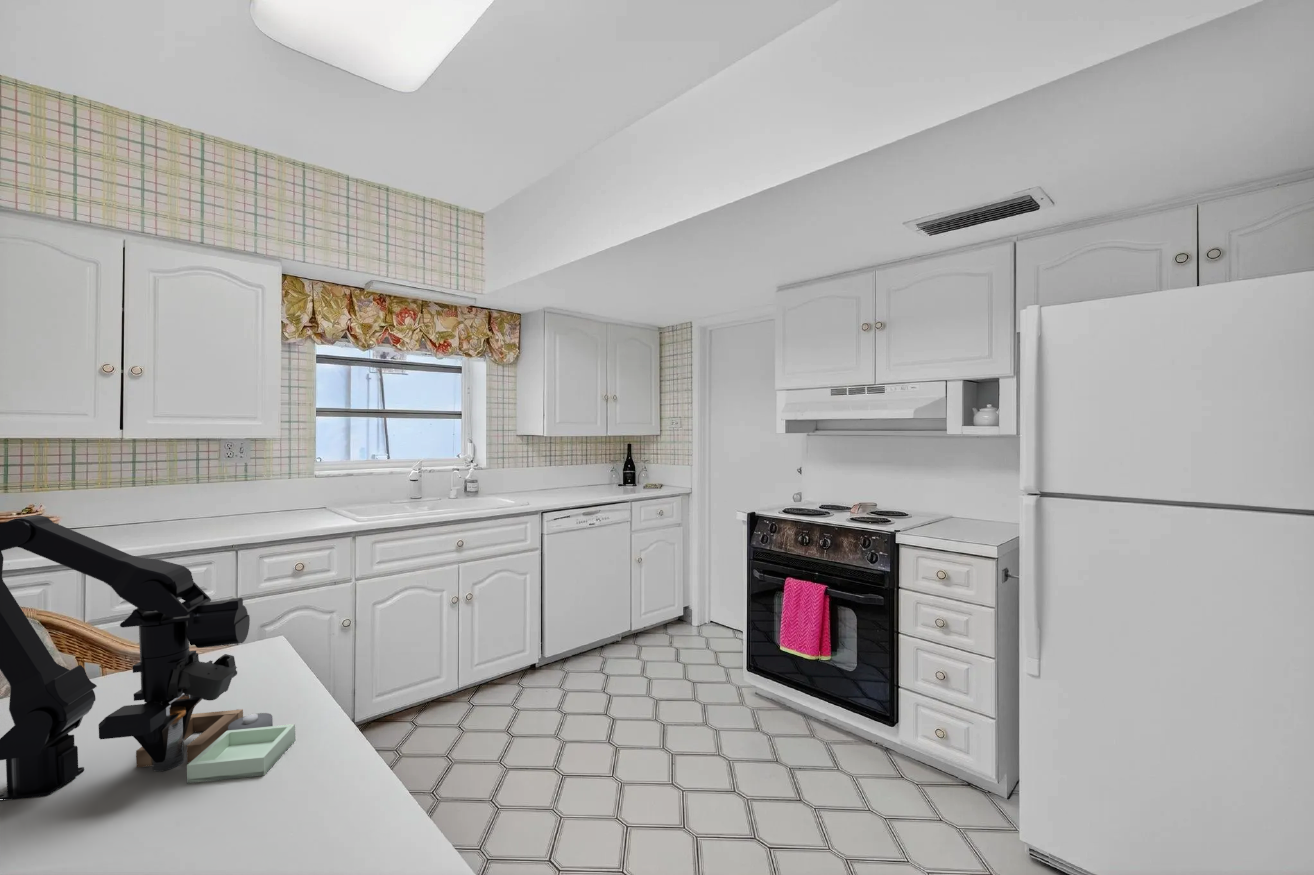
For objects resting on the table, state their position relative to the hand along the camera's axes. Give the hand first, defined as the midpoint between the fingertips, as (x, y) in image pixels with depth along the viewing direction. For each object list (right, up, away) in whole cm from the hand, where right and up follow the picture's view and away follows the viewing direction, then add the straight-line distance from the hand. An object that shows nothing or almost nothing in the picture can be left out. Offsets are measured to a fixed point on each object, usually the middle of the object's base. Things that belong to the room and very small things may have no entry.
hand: (168, 754), depth 89 cm
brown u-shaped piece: (-1, -1, +6) cm, 6 cm away
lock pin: (0, -2, 0) cm, 2 cm away
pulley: (+7, -1, +8) cm, 11 cm away
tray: (+11, -1, +1) cm, 11 cm away
